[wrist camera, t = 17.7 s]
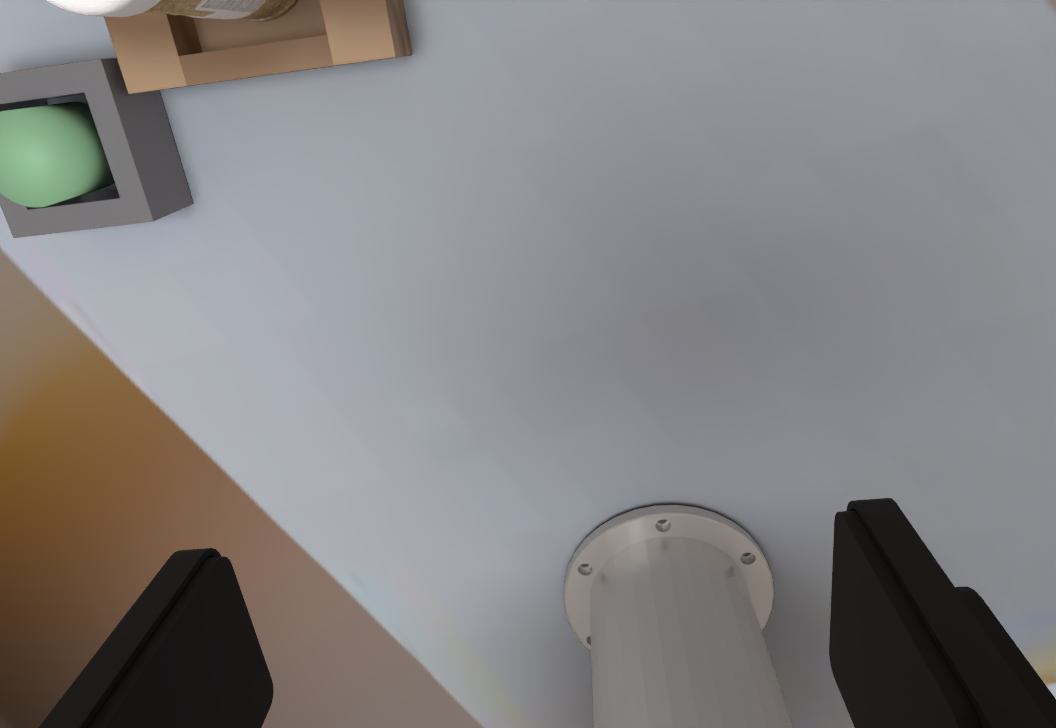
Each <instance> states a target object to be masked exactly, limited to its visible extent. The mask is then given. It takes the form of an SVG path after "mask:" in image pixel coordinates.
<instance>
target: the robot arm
mask: <svg viewBox="0 0 1056 728" xmlns="http://www.w3.org/2000/svg"><path fill="white" fill-rule="evenodd" d="M773 600H774V586H773V578H772V575H771V572H770V569H769V566H768V563H767V560H766V558H765V556H764V555H763V553H762V551H761V549H760V547H759V545H758V544H757V543H756V542H755V541H754V540H753V538H752V537H751V536H750V535H749V534H748V533H747V532H746V531H745V530H743V529H742V528H741V527H739V526H738V525H737V524H735V523H734V522H733V521H731V520H729V519H727V518H725V517H723V516H721V515H719V514H717V513H714V512H711V511H707V510H704V509H700V508H697V507H690V506H682V505H657V506H651V507H646V508H641V509H635V510H633V511H630V512H627V513H625V514H622V515H619V516H617V517H615V518H613V519H611V520H610V521H608V522H606V523H604V524H603V525H601V526H599V527H598V528H597V529H596V530H595V531H594V532H592V533H591V534H590V535H589V536H588V537H587V538H586V539H585V540H584V541H583V542H582V544H581V545H580V546H579V547H578V549H577V550H576V551H575V553H574V555H573V557H572V559H571V561H570V563H569V565H568V568H567V573H566V577H565V581H564V603H565V610H566V615H567V618H568V620H569V623H570V626H571V628H572V630H573V631H574V633H575V634H576V636H577V637H578V639H579V640H580V642H581V643H582V644H583V645H584V646H585V647H586V648H587V649H588V650H589V651H590V652H591V661H592V692H593V723H594V728H793V727H792V724H791V721H790V718H789V715H788V711H787V708H786V705H785V702H784V699H783V696H782V693H781V690H780V686H779V683H778V680H777V677H776V674H775V671H774V668H773V665H772V661H771V658H770V655H769V652H768V649H767V646H766V643H765V640H764V636H763V633H762V630H763V629H764V627H765V626H766V624H767V622H768V619H769V617H770V614H771V611H772V608H773ZM829 655H830V662H831V668H832V671H833V675H834V678H835V680H836V683H837V685H838V688H839V690H840V693H841V695H842V697H843V700H844V702H845V705H846V707H847V710H848V712H849V714H850V717H851V719H852V722H853V724H854V727H855V728H1056V699H1055V698H1054V696H1053V695H1052V693H1051V692H1050V691H1049V690H1048V688H1047V687H1046V685H1045V684H1044V683H1043V681H1042V680H1041V678H1040V677H1039V676H1038V674H1037V673H1036V672H1035V670H1034V669H1033V667H1032V666H1031V665H1030V663H1029V662H1028V661H1027V659H1026V658H1025V657H1024V655H1023V654H1022V652H1021V651H1020V650H1019V648H1018V647H1017V646H1016V644H1015V643H1014V641H1013V640H1012V639H1011V637H1010V636H1009V635H1008V633H1007V632H1006V631H1005V629H1004V628H1003V626H1002V625H1001V624H1000V622H999V621H998V620H997V618H996V617H995V615H994V614H993V613H992V611H991V610H990V609H989V607H988V606H987V605H986V603H985V602H984V600H983V599H982V598H981V597H980V596H979V595H978V594H977V592H976V591H975V590H973V589H971V588H969V587H954V586H953V584H952V583H951V581H950V580H949V578H948V577H947V575H946V574H945V573H944V571H943V570H942V568H941V567H940V565H939V564H938V563H937V561H936V560H935V558H934V557H933V555H932V554H931V552H930V551H929V550H928V548H927V547H926V545H925V544H924V542H923V541H922V540H921V538H920V537H919V535H918V534H917V532H916V531H915V530H914V528H913V527H912V525H911V524H910V522H909V521H908V519H907V518H906V517H905V515H904V514H903V512H902V511H901V509H900V508H899V507H898V505H897V504H896V502H895V501H894V500H893V499H890V498H884V499H870V500H857V501H850V502H849V504H848V506H847V511H844V512H837V513H836V515H835V523H834V548H833V572H832V596H831V620H830V645H829ZM272 698H273V683H272V679H271V676H270V673H269V670H268V668H267V664H266V662H265V659H264V656H263V653H262V650H261V647H260V644H259V642H258V639H257V636H256V633H255V630H254V627H253V624H252V621H251V618H250V616H249V613H248V610H247V607H246V604H245V601H244V598H243V595H242V593H241V590H240V587H239V584H238V581H237V578H236V575H235V572H234V569H233V567H232V564H231V562H230V560H229V559H228V558H227V557H221V555H220V553H219V552H218V551H217V550H216V549H213V548H208V549H194V550H181V551H177V552H175V553H174V554H173V555H172V556H171V557H170V558H169V559H168V560H167V562H166V563H165V565H164V566H163V567H162V568H161V570H160V571H159V572H158V573H157V575H156V576H155V577H154V579H153V580H152V581H151V583H150V584H149V585H148V586H147V588H146V589H145V590H144V592H143V593H142V594H141V595H140V597H139V598H138V599H137V601H136V602H135V603H134V605H133V606H132V607H131V609H130V610H129V611H128V612H127V614H126V615H125V616H124V618H123V619H122V620H121V621H120V623H119V624H118V625H117V627H116V628H115V629H114V631H113V632H112V633H111V634H110V636H109V637H108V638H107V640H106V641H105V642H104V643H103V645H102V646H101V647H100V649H99V650H98V651H97V653H96V654H95V655H94V656H93V658H92V659H91V660H90V662H89V663H88V664H87V666H86V667H85V668H84V670H83V671H82V672H81V673H80V675H79V676H78V677H77V678H76V680H75V681H74V682H73V684H72V685H71V686H70V688H69V689H68V690H67V691H66V693H65V694H64V695H63V697H62V698H61V699H60V700H59V702H58V703H57V704H56V706H55V707H54V708H53V710H52V711H51V712H50V713H49V715H48V716H47V717H46V719H45V720H44V721H43V723H42V724H41V725H40V726H39V728H261V727H262V724H263V722H264V720H265V718H266V715H267V713H268V711H269V709H270V706H271V703H272Z"/></svg>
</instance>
